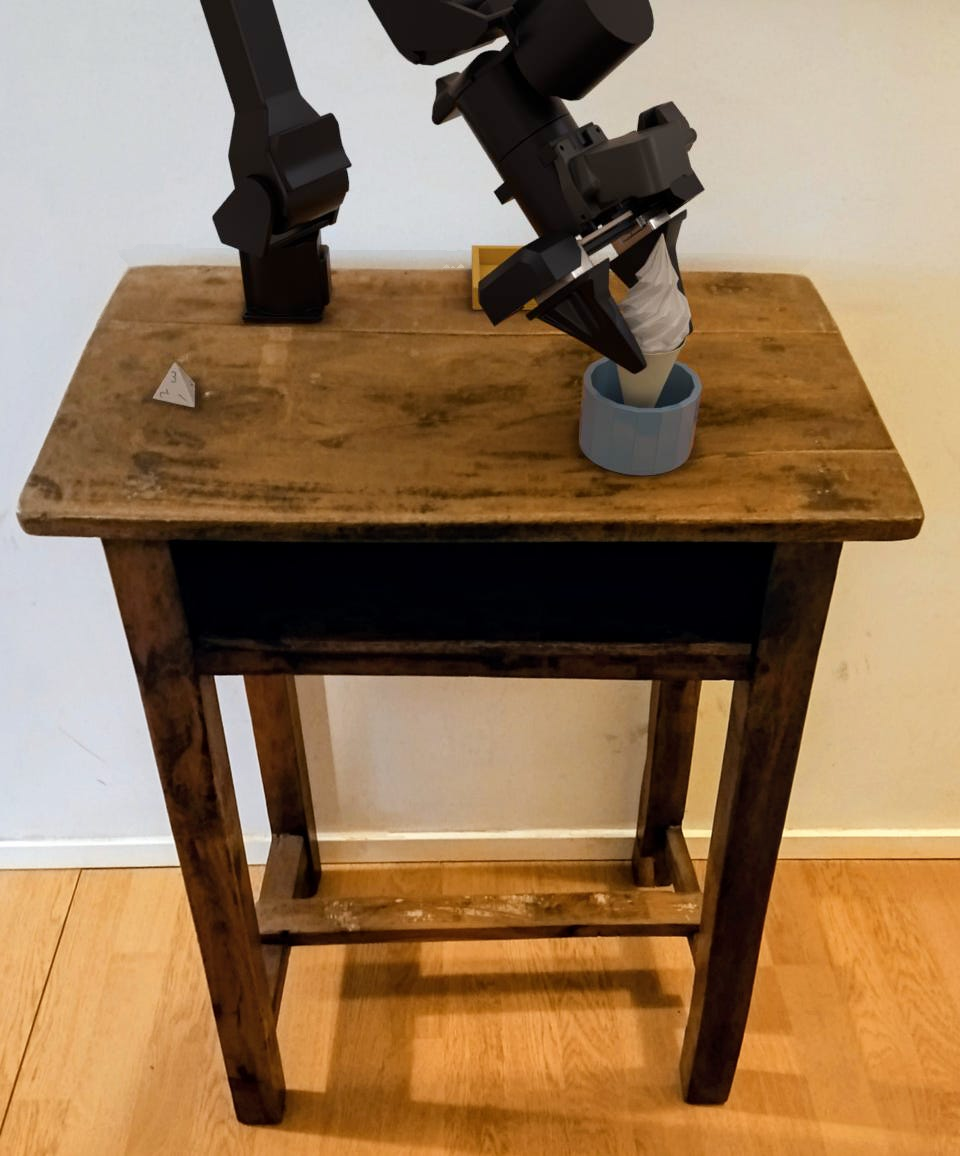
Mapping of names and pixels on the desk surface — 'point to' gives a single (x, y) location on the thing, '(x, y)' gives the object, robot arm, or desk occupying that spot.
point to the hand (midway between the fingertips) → (664, 352)
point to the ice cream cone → (654, 327)
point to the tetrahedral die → (177, 388)
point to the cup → (638, 421)
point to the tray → (490, 267)
